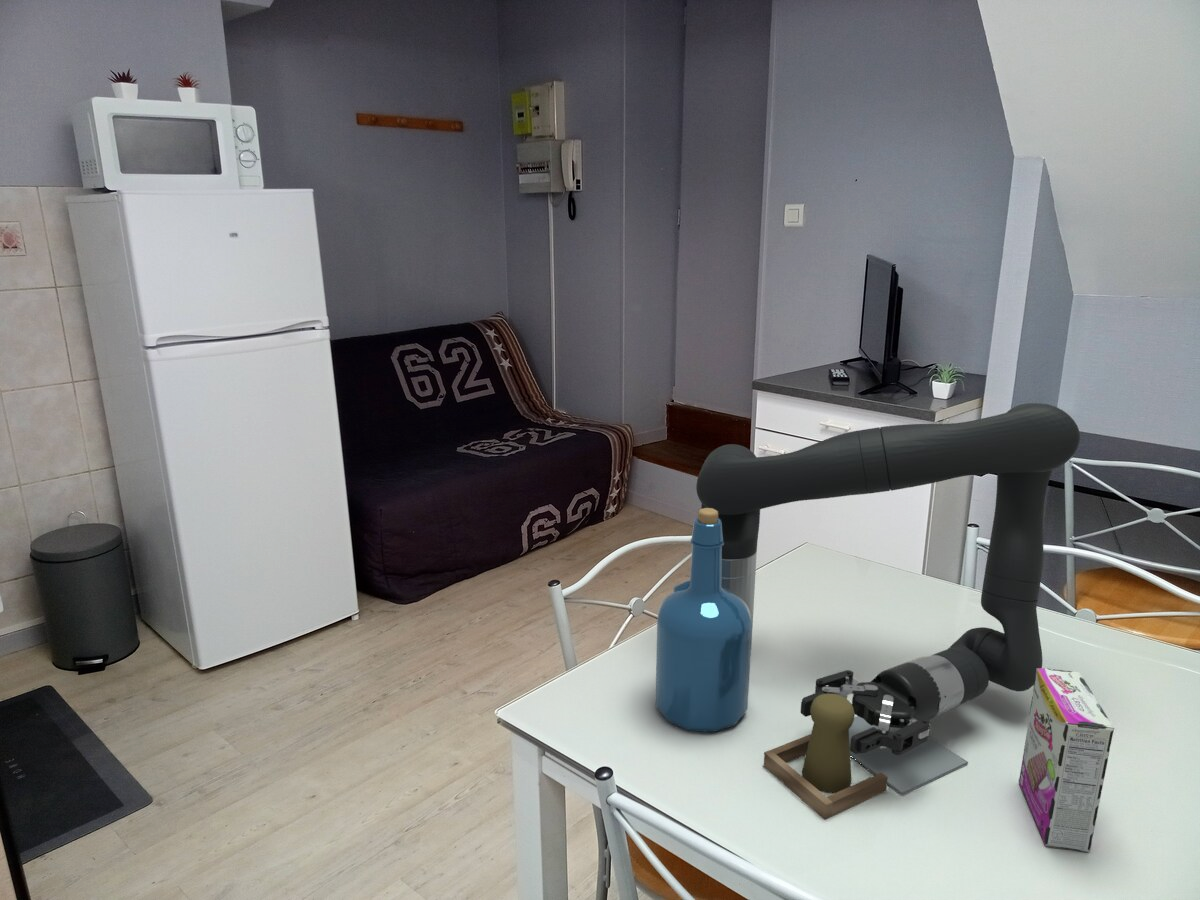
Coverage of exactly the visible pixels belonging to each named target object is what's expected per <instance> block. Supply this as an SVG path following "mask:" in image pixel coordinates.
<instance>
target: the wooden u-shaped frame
mask: <svg viewBox="0 0 1200 900" xmlns="http://www.w3.org/2000/svg"><path fill="white" fill-rule="evenodd" d="M810 736H811V733H810V734H807V735H804V736H802V737H799V738H797V739H795V740H792V741H790V742H786V743H784V744H782V745H780V746H777V747H775V748H771V749H768V750H767V751H764V753H763V754H764V755H763V766H764V768H766V769H767V770H768V771H769V770H770V771H771V772H772V773H771V772H770V771H769V772H770V773H771V774H772V775H774V776H775V777H776V778H777V779H778V780H779V781H781V783H783V784H784V785H785V786H786V787H787V788H788V789H790V791H792V792H793V793H794V794H795V795H797V796H798V797H799V798H800V799H801V800H803V802H804V803H806V804H807V805H808V806H809V807H810V808H811V809H813V810H814V811H815V812H816V813H817V814H818V815H819V816H820V817H822V818H823V819H824V820H827V819H829V818H831V817H834V816H835V815H837V814H840V813H842V812H844V811H846V810H849V809H850V808H853V807H855V806H857V805H859V804H861V803H864V802H865V801H867V800H870V799H872V798H874V797H877V796H878V795H880V794H883V793H884V792H887V787H888V785H887V779H888V777H887V776H886V775H884V774H883V773H882V772H881V773H879V774H877V775H873V776H870V777H868V778H866V779H863V780H862V781H859V782H857V783H854V784H851V785H850V787H848V788H846V789H843V790H841V791H839V792H837V793H831V794H830V795H828V796H826V795H825V794H824V793H823V792H822V791H819V790H818V789H817V788H815V787H814V786H813V785H812V784H811V783H809V782H808V781H807V780H806V779H805V778H803V777H802V774H800V773H798V771H796V770H795V769H794V768H793V767H792V766H790V765H789V764H788V763H790V762H793V761H794V759H795V760H797V759H800V758H802V757H804V756H806V753H807V749H808V745H809V741H810ZM801 756H802V757H801ZM799 757H800V758H799ZM796 758H797V759H796ZM789 761H790V762H789Z"/></svg>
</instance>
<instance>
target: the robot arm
mask: <svg viewBox="0 0 1200 900" xmlns="http://www.w3.org/2000/svg"><path fill="white" fill-rule="evenodd" d="M1080 434H1081V433H1080V430H1079V427H1078V425H1077V423H1076V422H1075V420H1074V419H1073V417H1071V416H1070V414H1069V413H1067V412H1066V411H1064V410H1063V409H1061V408H1060V407H1057V406H1056V405H1051V404H1047V403H1041V402H1039V403H1038V402H1028V403H1023V404H1019V405H1016V406H1014V407H1012V408H1011V409H1009V410H1007V412H1004V413H1000V414H997V415H992V416H987V417H982V418H978V419H975V420H974V419H973V420H969V421H963V422H962V421H961V422H954V423H952V422H951V423H910V424H895V425H887V426H886V425H885V426H880V427H872V428H866V429H865V428H864V429H860V430H852V431H850V432H844V433H842V434H837V435H833V436H832V437H828V438H826V439H823V440H821V441H818V442H815V443H813V444H811V445H808V446H806V447H803V448H800V449H798V450H795V451H792V452H787V453H783V454H777V455H776V454H775V455H769V456H767V455H766V456H756V454H754V452H752V450H750V449H749V448H747V447H746V446H743V445H739V444H733V443H731V444H729V443H728V444H723V445H721V446H719V447H717V448H715V449H714V450H712V451H711V452H710V453H709V454H708V455H707V457H706V458H705V461H704V463H703V464H702V466H701V469H700V471H699V473H698V476H697V480H696V495H697V497H698V500H699V501H700V503H701V508H700V509H703V508H713V509H715V510H717V511H718V518H719V519H720V520H721V522H722V534H723V541H724V545H723V546H722V575H721V586H722V587H723V588H725V589H728V590H730V591H731V592H733V593H734V594H735V595H737V596H738V597H739V598H741V599H742V600H743V601H744V602H745V603H746V605H747V606H748V609H749V611H750V615H751V621H752V628H753V623H754V607H755V606H754V605H755V589H756V574H757V573H756V572H757V555H758V554H757V550H758V541H759V540H758V539H759V531H760V521H761V510H762V509H766V508H767V509H768V508H770V507H771V508H773V507H775V506H779V505H784V504H789V503H795V502H796V503H797V502H800V501H802V502H803V501H811V500H824V499H832V498H839V497H846V496H847V497H848V496H849V497H850V496H856V495H858V496H860V495H869V494H877V493H884V492H890V491H896V490H903V489H908V488H915V487H919V486H925V485H930V484H936V483H940V482H945V481H947V480H953V479H956V478H961V477H967V476H968V477H969V476H975V475H987V474H988V475H990V474H997V475H996V476H997V477H996V494H995V497H996V498H995V507H994V508H995V509H994V516H993V521H992V528H991V533H990V541H989V545H988V551H987V555H986V556H987V557H986V563H985V568H984V569H985V570H984V577H983V582H982V589H981V596H980V604H981V607H982V609H983V610H984V611H985V612H986V613H987V614H989V615H990V616H991V617H993V618H994V619H996V620H997V621H998V623H1000V624H1001V626H1002V630H1003V632H1001V631H999V630H996V629H993V628H990V627H974V628H970V629H969V630H967V631H965V632H964V633H963V634H962V635H961V636H960V637H959V638H958V639H957V640H956V641H954V642H953V643H952V644H951V645H950V646H949V647H948V648H947V649H945V650H942V651H939V652H937V653H934V654H931V655H929V656H923V657H919V658H915V659H911V660H908V661H907V662H904V663H901V664H898V665H896V666H893V667H890V668H888V669H885V670H881V672H879V673H878V674H877V675H876V676H875V677H874V678H873V679H872V680H871V681H863V682H859V681H858V680H856V679H855V678H854V671H852V670H849V669H845V670H843V671H839V672H836V673H833V674H830V675H827V676H823V677H820V678H816V680H815V689H814V690H815V691H814V693H812V694H809V695H807V696H805V697H803V698H802V699H801V702H800V714H801V715H803V716H804V717H809V716H811V713H810V709H811V705H812V702H813V700H814V699H815V698H816V697H818V696H819V695H822V694H836V695H840V696H842V697H844V698H846V699H847V700H848V696H849V695H850V694H851V695H852V699H851V704H852V706H853V709H854V714H855V716H856V717H857V716H859V717H861V718H863V719H864V720H865V721H866V722H867V723H868V724H870V725H871V726H872V725H875V726H878V729H876V728H874V727H872V728H870V729H868V730H865V731H863V732H860V733H858V734H855V735H853V736H852V738H851V743H850V751H852V752H853V753H854V754H858V753H866V752H869V751H871V750H873V749H876V748H878V747H879V748H886V747H888V748H890V749H892V753H893V754H895V755H901V754H903V753H905V752H907V751H909V750H911V749H913V748H915V747H917V746H918V745H920V744H922V743H924V742H926V741H927V740H928V736H930V734H929V733H930V726H931V722H930V721H931V720H933V719H935V718H937V717H939V716H942V715H943V714H947V713H948V712H949V711H951V710H952V709H954V708H956V707H957V706H960V705H962V704H965V703H967V702H969V701H971V700H973V699H974V700H975V699H976V698H978V697H979V696H981V695H982V694H983V693H985V691H986V690H987V688H988V686H989V683H990V682H991V683H994V684H996V685H999V686H1001V687H1003V688H1005V689H1008V690H1010V691H1014V692H1025V691H1027V690H1030V689H1031V688H1032V687H1034V683H1035V677H1036V669H1037V668H1043V661H1044V660H1043V652H1042V651H1043V650H1042V644H1041V637H1040V630H1039V629H1040V628H1039V620H1038V614H1037V613H1038V612H1037V608H1038V607H1037V605H1038V599H1039V596H1040V595H1039V594H1040V589H1041V581H1042V577H1043V575H1042V574H1043V568H1044V567H1043V566H1044V565H1043V564H1044V511H1045V502H1046V501H1045V500H1046V497H1047V490H1048V486H1049V483H1050V482H1049V481H1050V479H1051V475H1052V471H1053V470H1055V469H1057V468H1060V467H1061V466H1063V465H1064V464H1066V463H1067V462H1068V461H1070V460H1071V459H1072V457H1073V456H1074V455H1075V454H1076V452H1077V451H1078V448H1079V445H1080V440H1081V435H1080ZM752 640H753V638H752V639H751V645H752V644H753V643H752ZM890 727H892V728H902V729H900V730H898V731H896V732H894V733H893V732H890Z"/></svg>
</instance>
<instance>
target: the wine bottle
mask: <svg viewBox="0 0 1200 900" xmlns="http://www.w3.org/2000/svg"><path fill="white" fill-rule="evenodd" d="M693 520H694V521H693V525H692V526H693V527H692V533H691V538H690V544H691V561H690V574H689V576H690V577H689V580H687V581H684V582H682V583H680V584H678V585H675V586H674V587H673V590H672V593H670V594H669V595H667V596H666V597H665V598H663V599H662V601H661V602H660V604H659V606H658V609H657V619H656V620H657V621H656V664H655V665H656V668H655V707H656V708H657V710H658V712H660V713H661V715H662V716H663V717H664V718H665V720H667V722H668V723H670V724H673V725H675V726H678V727H681V728H683V729H685V730H687V731H694V732H706V733H707V732H709V733H710V732H712V733H713V732H714V733H715V732H718V731H721V730H724V729H728V728H731V727H734V726H735V725H736V724H737V723H739V721H740V720H741V719H742V718H743V717H744V715H745V714H746V713H747V711H748V708H749V707H748V705H749V691H750V690H749V687H750V686H749V685H750V672H751V656H752V655H751V654H752V653H751V651H752V644H751V639H752V640H753V627H752V621H751V615H750V611H749V609H748V606H747V605H746V603H745V602H744V601H743V600H742V599H741V598H739V597H738V596H737V595H735V594H734V593H733V592H731V591H730V590H728V589H725V588H723V587H722V586H721V575H722V546H723V545H724V541H723V534H722V522H721V520H720V519H719V518H718V511H717V510H715V509H713V508H703V509H701V508H700V509H699V511H698V514H697V517H696V518H694V519H693Z"/></svg>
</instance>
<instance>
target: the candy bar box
mask: <svg viewBox="0 0 1200 900" xmlns="http://www.w3.org/2000/svg"><path fill="white" fill-rule="evenodd" d="M1032 690H1033V691H1032V698H1031V701H1030V702H1031V704H1030V711H1029V714H1028V724H1027V728H1026V729H1027V730H1026V733H1025V734H1026V735H1025V743H1024V749H1023V754H1022V761H1021V768H1020V772H1019V778H1018V784H1019V787H1020V789H1021V791H1022V793H1023V795H1024V798H1025V801H1026V803H1027V804H1028V807H1029V810H1030V812H1031V814H1032V817H1033V819H1034V822H1035V823H1036V826H1037V830H1038V831H1039V834H1040V836H1041V839H1042V841H1043V844H1044V846H1045V847H1049V848H1052V849H1053V848H1054V849H1060V850H1072V851H1077V852H1085V853H1090V852H1091V848H1092V847H1091V846H1092V841H1093V836H1094V831H1095V827H1096V822H1097V818H1098V817H1097V816H1098V812H1099V807H1100V801H1101V796H1102V790H1103V787H1104V782H1105V781H1104V780H1105V777H1106V772H1107V767H1108V761H1109V756H1110V749H1111V745H1112V739H1113V734H1114V730H1115V727H1114V725H1113V724H1112V722H1111V720H1110V719H1109V717H1108V716H1107V714H1106V713H1105V711H1104V709H1103V707H1102V706H1101V705H1100V703H1099V702H1098V700H1097V698H1096V696H1095V695H1094V693H1093V691H1092V690H1091V688H1090V687H1089V685H1088V684H1087V682H1086V680H1085V678H1083V676H1082V674H1081V673H1080V671H1071V670H1063V669H1051V668H1048V667H1047V668H1046V667H1042V668H1037V669H1036V677H1035V683H1034V685H1033V689H1032Z"/></svg>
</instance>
